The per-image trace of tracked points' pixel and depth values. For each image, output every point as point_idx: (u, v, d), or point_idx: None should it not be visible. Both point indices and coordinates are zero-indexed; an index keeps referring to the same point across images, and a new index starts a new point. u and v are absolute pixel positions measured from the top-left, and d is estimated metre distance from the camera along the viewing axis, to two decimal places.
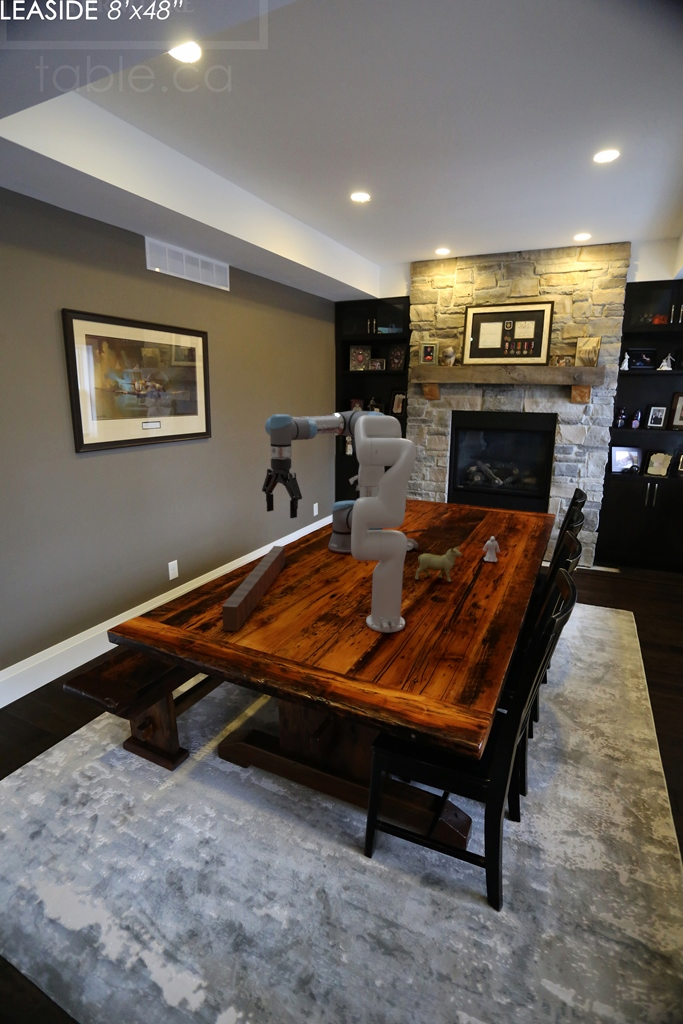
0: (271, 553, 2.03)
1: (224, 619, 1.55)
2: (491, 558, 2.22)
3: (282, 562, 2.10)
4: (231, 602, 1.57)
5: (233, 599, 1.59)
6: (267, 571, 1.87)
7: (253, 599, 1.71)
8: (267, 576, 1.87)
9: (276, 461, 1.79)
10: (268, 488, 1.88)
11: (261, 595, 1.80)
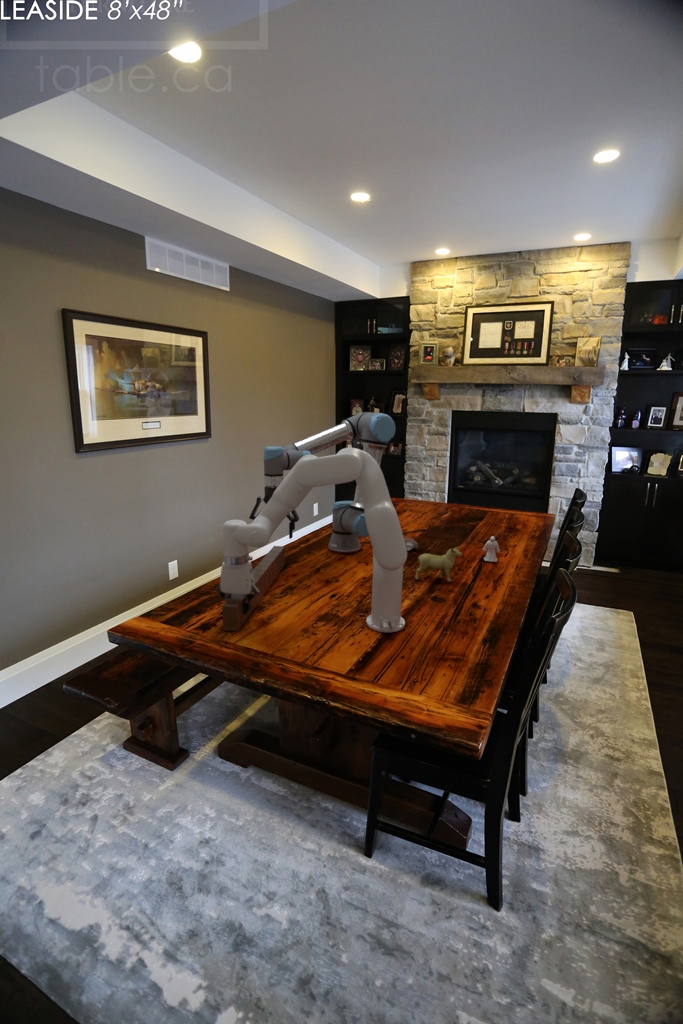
0: (271, 553, 2.03)
1: (224, 619, 1.55)
2: (491, 558, 2.22)
3: (282, 562, 2.10)
4: (231, 602, 1.57)
5: (233, 599, 1.59)
6: (267, 571, 1.87)
7: (253, 599, 1.71)
8: (267, 576, 1.87)
9: None
10: None
11: (261, 595, 1.80)
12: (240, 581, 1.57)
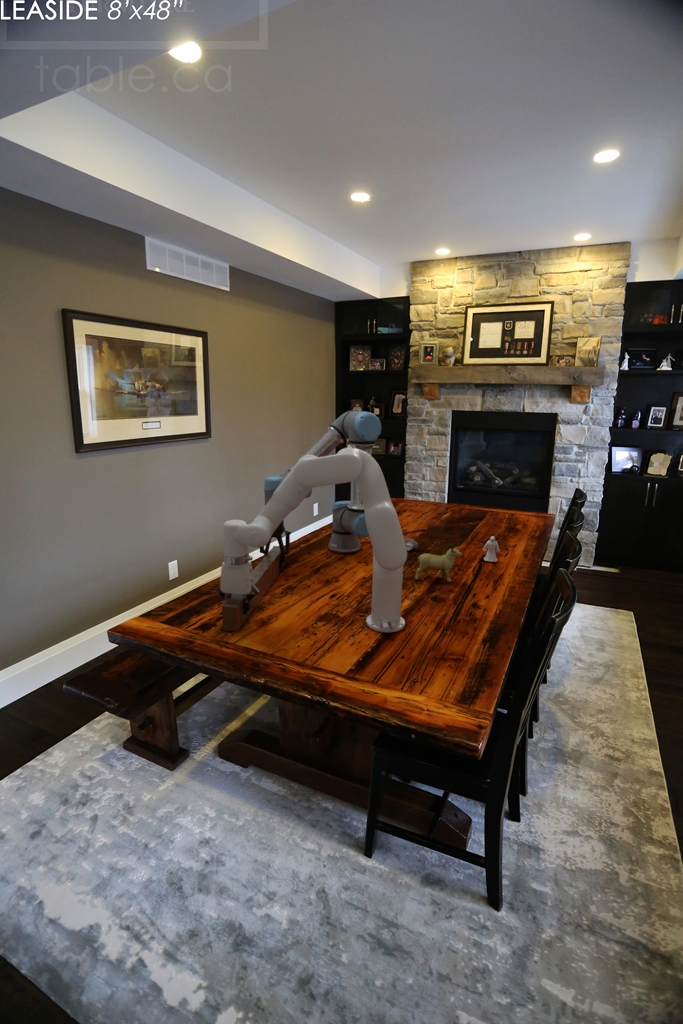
0: (271, 553, 2.03)
1: (224, 619, 1.55)
2: (491, 558, 2.22)
3: None
4: (231, 602, 1.57)
5: (233, 599, 1.59)
6: (267, 571, 1.87)
7: (253, 599, 1.71)
8: (267, 576, 1.87)
9: None
10: None
11: (261, 595, 1.80)
12: (240, 581, 1.57)
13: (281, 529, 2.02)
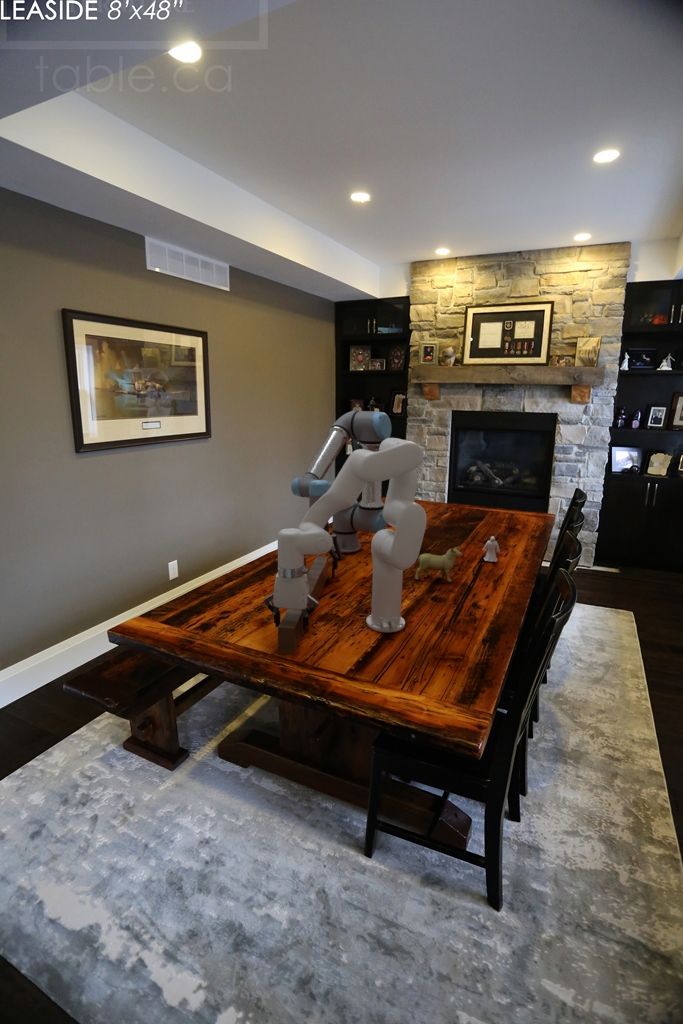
0: (315, 565, 1.90)
1: (280, 641, 1.43)
2: (491, 558, 2.22)
3: (326, 574, 1.97)
4: (287, 623, 1.44)
5: (289, 619, 1.46)
6: (316, 585, 1.74)
7: None
8: (316, 591, 1.75)
9: None
10: None
11: None
12: (296, 595, 1.44)
13: None
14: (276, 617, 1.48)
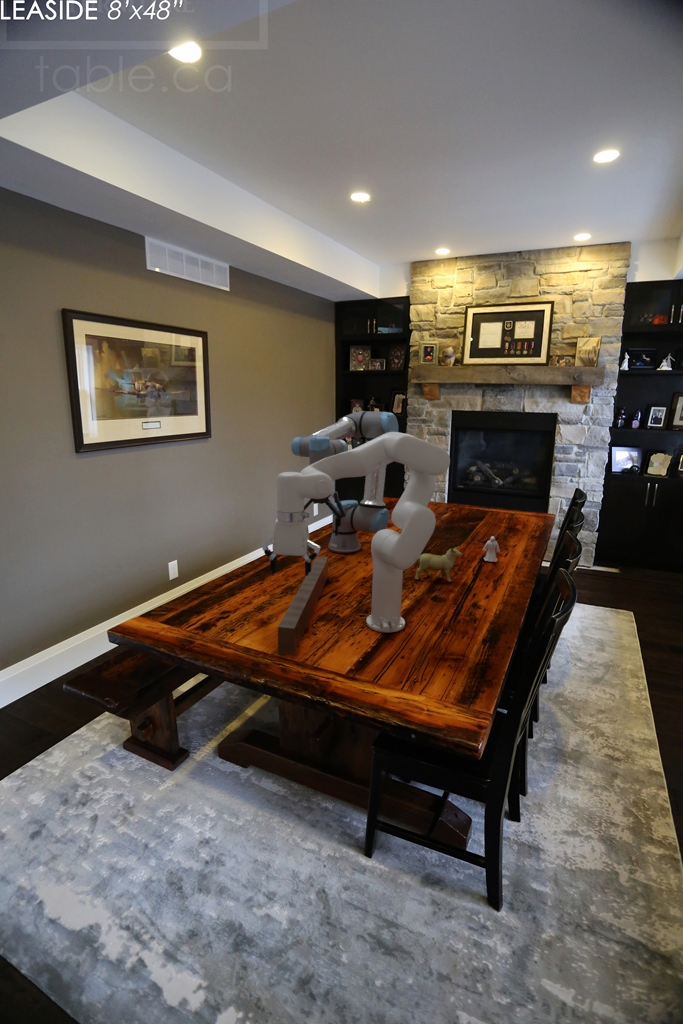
0: (315, 565, 1.90)
1: (280, 641, 1.43)
2: (491, 558, 2.22)
3: (326, 574, 1.97)
4: (287, 623, 1.44)
5: (288, 619, 1.46)
6: (316, 585, 1.74)
7: (306, 617, 1.59)
8: (316, 591, 1.75)
9: None
10: None
11: (311, 612, 1.68)
12: (295, 541, 1.40)
13: None
14: (273, 563, 1.44)
